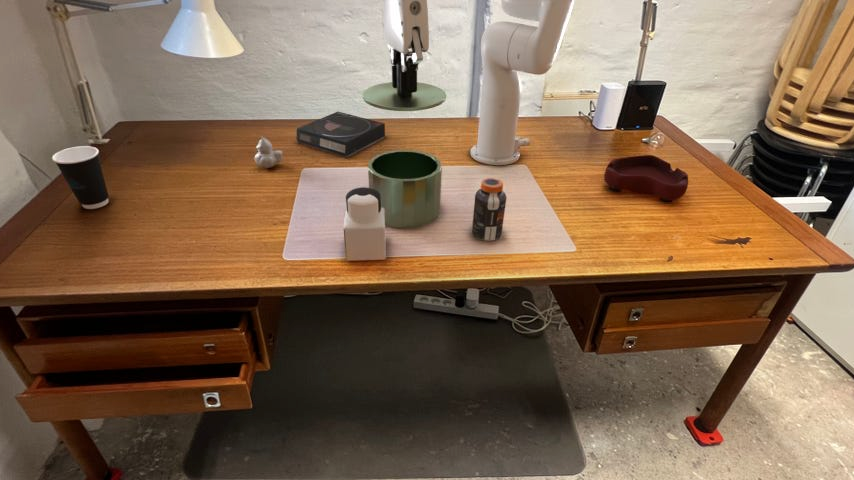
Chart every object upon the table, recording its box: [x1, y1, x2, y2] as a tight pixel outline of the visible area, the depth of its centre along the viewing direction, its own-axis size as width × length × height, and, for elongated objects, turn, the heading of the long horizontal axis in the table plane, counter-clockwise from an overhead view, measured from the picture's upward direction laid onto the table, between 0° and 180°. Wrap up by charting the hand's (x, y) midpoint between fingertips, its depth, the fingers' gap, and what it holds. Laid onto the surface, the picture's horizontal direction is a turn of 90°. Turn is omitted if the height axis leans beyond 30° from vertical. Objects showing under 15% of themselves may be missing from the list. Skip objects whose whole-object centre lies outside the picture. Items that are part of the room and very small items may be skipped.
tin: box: [367, 149, 443, 230], centre depth 104 cm, size 15×15×10 cm
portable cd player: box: [295, 111, 386, 158], centre depth 136 cm, size 16×17×4 cm
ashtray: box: [603, 154, 689, 204], centre depth 118 cm, size 18×16×5 cm
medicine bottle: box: [343, 186, 387, 262], centre depth 91 cm, size 7×7×12 cm
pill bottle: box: [471, 177, 507, 242], centre depth 97 cm, size 6×6×11 cm
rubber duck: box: [254, 135, 284, 169], centre depth 121 cm, size 5×7×8 cm
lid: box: [362, 62, 447, 112], centre depth 94 cm, size 16×16×7 cm
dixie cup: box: [51, 145, 110, 210], centre depth 103 cm, size 8×8×11 cm
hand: (404, 88), depth 95 cm, fingers closed on lid, 2 cm apart
